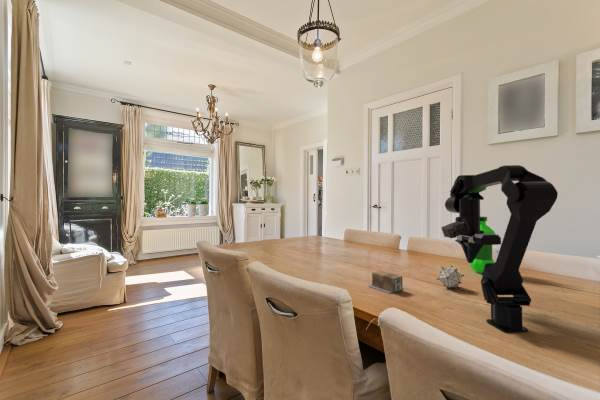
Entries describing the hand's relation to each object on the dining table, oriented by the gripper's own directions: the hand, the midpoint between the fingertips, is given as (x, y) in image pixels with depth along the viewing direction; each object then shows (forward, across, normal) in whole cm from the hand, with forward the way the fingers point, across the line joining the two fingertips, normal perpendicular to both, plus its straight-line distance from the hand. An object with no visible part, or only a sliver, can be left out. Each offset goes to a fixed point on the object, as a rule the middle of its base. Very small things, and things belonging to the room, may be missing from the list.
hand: (470, 262), depth 88 cm
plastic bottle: (+13, -33, +30) cm, 47 cm away
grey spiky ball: (+13, -15, +3) cm, 20 cm away
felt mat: (+13, -18, -21) cm, 30 cm away
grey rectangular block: (+10, -13, -18) cm, 25 cm away
